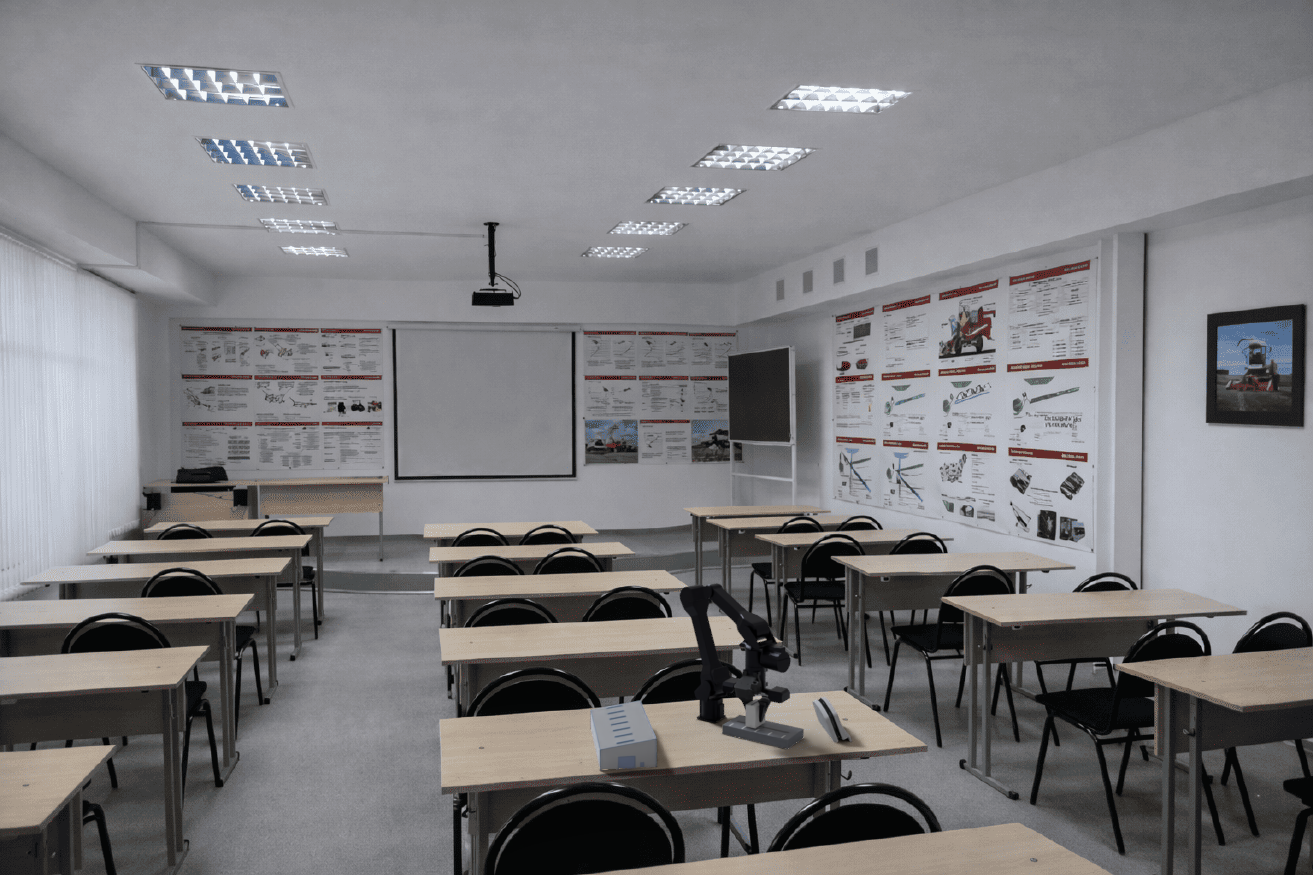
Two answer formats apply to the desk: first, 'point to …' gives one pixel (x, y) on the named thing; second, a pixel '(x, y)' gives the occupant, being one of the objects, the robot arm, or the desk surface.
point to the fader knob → (753, 714)
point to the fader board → (764, 732)
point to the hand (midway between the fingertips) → (755, 720)
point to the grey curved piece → (829, 719)
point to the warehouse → (623, 736)
